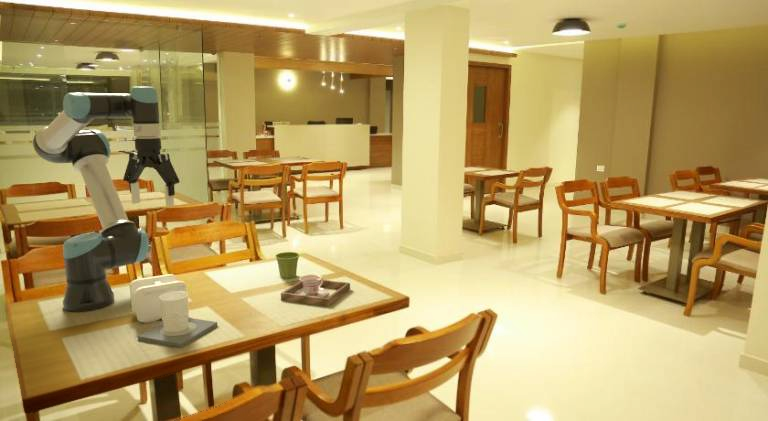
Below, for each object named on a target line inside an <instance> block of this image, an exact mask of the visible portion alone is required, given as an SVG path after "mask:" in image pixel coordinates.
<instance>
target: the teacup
mask: <svg viewBox="0 0 768 421" xmlns="http://www.w3.org/2000/svg"><path fill="white" fill-rule="evenodd" d="M321 280H322V281H321ZM323 280H324V277H323V276H322V275H319V274H307V275H303V276H302V275H301V277H299V278H298V281H299V282H302V285H303V287H304V288H302V289H300V290H298V291H296V292H295V293H294V294H300V295H307V296H315V297H323V298H326V297H327V296H328V294H329V291H328V290H327V289H326V288H324V287H321V285H322V283H323ZM320 282H321V284H320ZM319 284H320V285H319Z"/></svg>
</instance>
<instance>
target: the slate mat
mask: <svg viewBox="0 0 768 421" xmlns="http://www.w3.org/2000/svg"><path fill="white" fill-rule="evenodd" d="M217 327H218V321H212V320H206V319H201V318H200V319H199V318H193V317H189V318H188V328H187V329H185V330H183V331H180V332H166V331H165V330H164V328H163V322H162V323H160V324H158V325H157V326H155V327H152V328H151V329H148V330H147V331H145V332H143V333H141V334H139V335H137V340H138V341H141V342H147V343H151V344H157V345H163V346H168V347H169V346H170V347H173V346H174V348H180V349H182V348H183V347H185V346H187V345H189V344H191V343H192V342H193V341H195V340H197V339H198V338H200V337H202V336H203V335H205V334H207V333H208V332H210V331H212V330H213V329H215V328H217ZM181 347H182V348H181Z"/></svg>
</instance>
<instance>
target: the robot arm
mask: <svg viewBox="0 0 768 421" xmlns="http://www.w3.org/2000/svg"><path fill="white" fill-rule="evenodd" d="M157 91H158V90H157V88H155V87H153V86H132V87H131V88H130V93H109V92H108V93H105V92H104V93H103V92H102V93H100V92H98V93H97V92H79V91H77V92H68V93H67V94H65V95H64V96H63V100H62V101H63V102H62V108H63V110H62V111H60V113H59V114H58V115H57V116H56V117H55V118H54V119H53V120H52V121H51V122H50V124H48V126H45V127H44V126H43V127H42V128H40V129H39V130H38V131H37V132H36V133H35V134H34V136H33V138H32V147H33V150H34V151H35V152H36V154H37V155H38V156H39V157H40V158H41V159H43V160H45V161H47V162H50V163H53V164H70V163H71V164H72V167H73V169H74V171H77V172H78V173H79V172H80V174H81V177H82V179H83V181H84V185H85V187H86V189H87V191H88V192H87V193H88V194H89V197H90V199H91V201H92V204H93V206H94V209H95V211H96V214H97V217H98V219H99V222H100V225H101V228H102V230H101V231H100V232H95V231H94V232H85V233H81V234H77V235H74V236H72V237H71V236H70V237H69V238H68V239H66V240H65V241H64V242H63V245H62V249H63V250H62V251H63V252H62V258H63V263H64V271H65V280H66V288H65V292H64V297H63V300H62V306H63V309H64V310H65V311H66V312H67V311H68V312H77V313H78V312H89V311H95V310H98V309H103V308H105V307H107V306H110V305H112V304H113V303H114V302H115V293H114V291H113V290H112V287H111V285H110V284H109V280H108V279H107V273H106V272H107V270H110V269H115V268H119V267H120V268H121V267H124V266H129V265H134V264H137V263H140V262H143V261H144V260H146V258H147V257H148V255H149V250H150V241H149V236H148V234H147V232H146V231H145V230H144V229H143V228H137V226H136V223H135V221H131V220H129V218H128V215H127V213H126V211H125V209H124V206H123V203H122V201H121V198H120V197H119V194H118V191H117V189H116V187H115V184H114V181H113V178H112V176H111V175H110V172H109V169H108V167H107V164H108V163H109V158H110V157H111V152H112V151H111V150H112V149H111V148H110V147H111V145H110V142H109V140H108V138H107V136H106V135H105V134H104V133H103V132H102V131H101V130H98V129H89V128H85V127H86V126H87V125H88V124H90V123H91V122H92V121H93V120H95V119H132V124H133V134H134V135H133V136H134V137H136V138H134V149H135V150H136V151H133V152H128V162H127V165H126V169H125V172H124V174H123V178H122V179H123V181H124V182H127V183H128V185H129V192H130V194H131V204H133V205H135V204H140V203H141V193H140V183H139V179H140V177H141V175H142V173H143V171H145V169H146V168H149V169H151V168H153V170H156V172H157V173H158V175H159V176H160V178H161V179H162V180H163V182H164V183H165V185H164V196H165V207H167V208H169V207H173V206H175V200H174V198H175V197H174V196H175V195H176V194H175V185H176V184H177V185H178V184H179V183H180V182H181V181H180V179H179V177H178V174H177V172H176V171H175V168H174V165H173V163H172V161H171V156H170V154H169V153H161V150H162V139H161V138H160V137H161V126H160V125H161V124H160V111H159V108H160V107H159V98H158V92H157ZM84 128H85V129H84Z"/></svg>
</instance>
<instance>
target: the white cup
mask: <svg viewBox="0 0 768 421" xmlns="http://www.w3.org/2000/svg"><path fill="white" fill-rule="evenodd" d="M159 301H160V308H161V315H162V319H161V320H162V323H163V328H164V330H165V331H166V332H180V331H183V330H185V329H187V328H188V318H190V317H189V315H190V314H189V312H190V311H189V293H188V291H187V292H183V291H174V292H168V293H165V294H162V295H161V296H160V297H159Z"/></svg>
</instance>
